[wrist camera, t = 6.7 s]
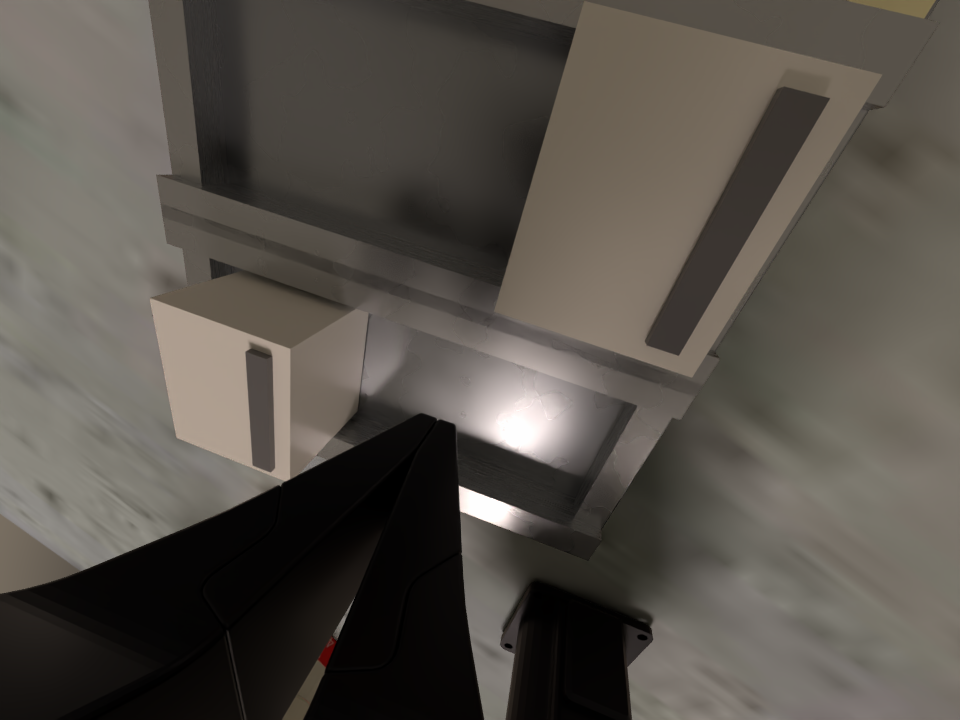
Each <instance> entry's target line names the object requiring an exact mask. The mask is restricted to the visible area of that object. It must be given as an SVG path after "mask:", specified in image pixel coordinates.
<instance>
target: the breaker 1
mask: <svg viewBox="0 0 960 720" xmlns="http://www.w3.org/2000/svg"><path fill="white" fill-rule="evenodd" d="M150 302H151V307H152V313H153V318H154V323H155V328H156V333H157V338H158V344H159V349H160V354H161V359H162V364H163V370H164V375H165V380H166V385H167V390H168V396H169V401H170V406H171V411H172V416H173V422H174V427H175V432H176V437H177V438H178V439H181V440H183V441H186V442H188V443H191V444H193V445H196V446H198V447H201V448H203V449H206V450H208V451H211V452H213V453H216V454H218V455H221V456H223V457H226V458H228V459H231V460H233V461H236V462H239V463H241V464H244V465H246V466H249V467H251V468H254V469H256V470H259V471H261V472H264V473H266V474H269V475H271V476H274V477H276V478H279V479H281V480H284V481H287V480H289V479H291V478H293V477H295V476H297V475H298V474H299V473H300V472H301V471H302V470H303V469H304V468H305V467H306V465H307V464H308V463H309V462H310V461H311V460H312V459H313V458H314V457H315V456H316V455H317V454H318V453H319V452H320V451H321V449H322V448H323V447H324V446H325V445H326V444H327V443H328V442H329V441H330V440H331V439H332V438H333V437H334V436H335V435H336V434H337V432H338V431H339V430H340V429H341V428H342V427H343V426H344V425H345V424H346V423H347V422H348V421H349V420H350V419H351V418H352V416H353V415H354V414H355V413H356V412H357V411H358V403H359V394H360V385H361V376H362V367H363V359H364V350H365V341H366V332H367V323H368V314H369V313H368V312H365V311H362V310H359V309H356V308H353V307H350V306H347V305H344V304H342V303H339V302H336V301H333V300H330V299H327V298H324V297H321V296H318V295H315V294H313V293H310V292H307V291H304V290H301V289H298V288H295V287H292V286H289V285H286V284H284V283H281V282H278V281H275V280H272V279H269V278H266V277H263V276H260V275H257V274H255V273H252V272H249V271H246V270H243V271H240V272H236V273H233V274H230V275H226V276H223V277H219V278H216V279H213V280H209V281H206V282H202V283H199V284H196V285H192V286H189V287H185V288H182V289H179V290H175V291H172V292H168V293H165V294H162V295H158V296H155V297H151V298H150Z"/></svg>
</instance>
